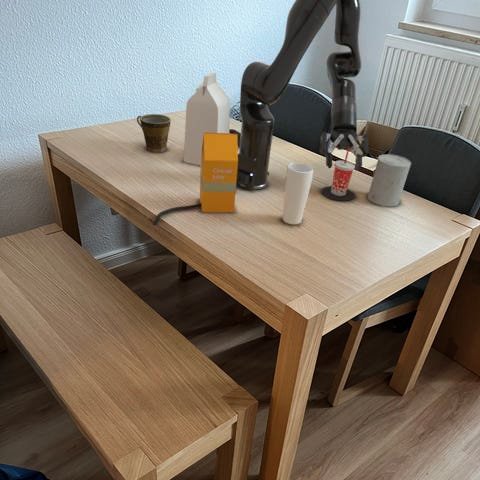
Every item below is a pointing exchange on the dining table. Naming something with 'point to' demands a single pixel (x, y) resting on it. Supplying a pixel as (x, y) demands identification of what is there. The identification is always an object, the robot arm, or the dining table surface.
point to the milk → (205, 116)
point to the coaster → (328, 194)
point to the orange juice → (218, 172)
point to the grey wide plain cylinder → (389, 180)
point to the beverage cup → (342, 176)
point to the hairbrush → (237, 135)
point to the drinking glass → (296, 191)
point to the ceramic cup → (155, 131)
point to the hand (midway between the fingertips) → (344, 168)
